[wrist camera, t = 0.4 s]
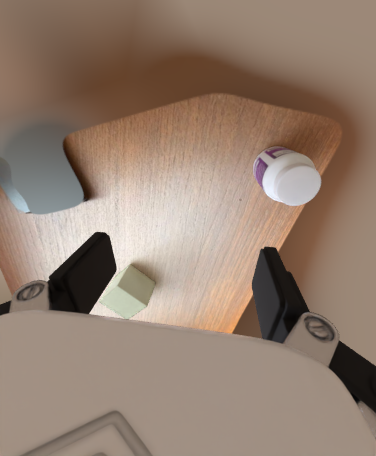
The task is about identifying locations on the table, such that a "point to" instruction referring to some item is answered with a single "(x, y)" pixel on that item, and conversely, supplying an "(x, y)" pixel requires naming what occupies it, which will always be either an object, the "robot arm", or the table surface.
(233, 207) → the table surface
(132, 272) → the sage block
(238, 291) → the table surface
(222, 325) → the table surface
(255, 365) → the robot arm
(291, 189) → the pill bottle
